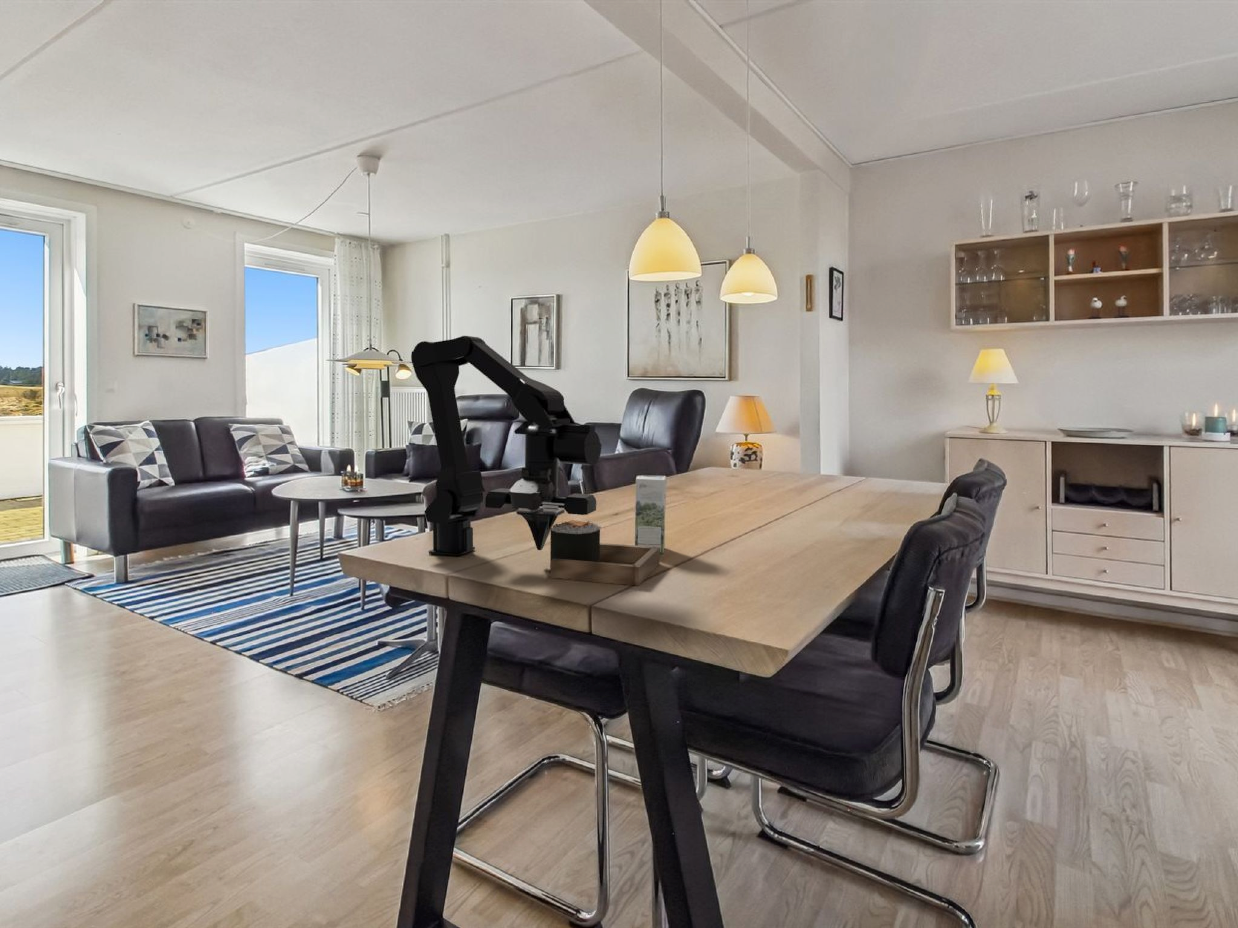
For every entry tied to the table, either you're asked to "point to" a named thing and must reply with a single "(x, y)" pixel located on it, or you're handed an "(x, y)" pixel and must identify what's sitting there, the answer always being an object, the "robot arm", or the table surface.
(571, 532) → the sushi
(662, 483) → the syrup box
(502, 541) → the table surface
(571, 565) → the tray
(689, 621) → the table surface
